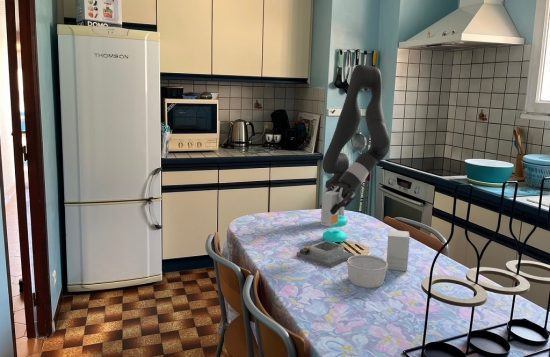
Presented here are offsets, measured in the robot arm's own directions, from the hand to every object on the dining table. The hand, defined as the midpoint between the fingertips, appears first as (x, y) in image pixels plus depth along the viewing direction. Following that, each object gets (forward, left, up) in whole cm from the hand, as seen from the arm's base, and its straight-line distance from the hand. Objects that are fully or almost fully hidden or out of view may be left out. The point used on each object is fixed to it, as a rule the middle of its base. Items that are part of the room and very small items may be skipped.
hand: (326, 210), depth 172 cm
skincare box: (0, +2, -5) cm, 6 cm away
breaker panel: (0, 0, -18) cm, 18 cm away
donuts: (-9, +19, -18) cm, 28 cm away
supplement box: (+24, +11, -18) cm, 32 cm away
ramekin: (+23, -8, -18) cm, 31 cm away
